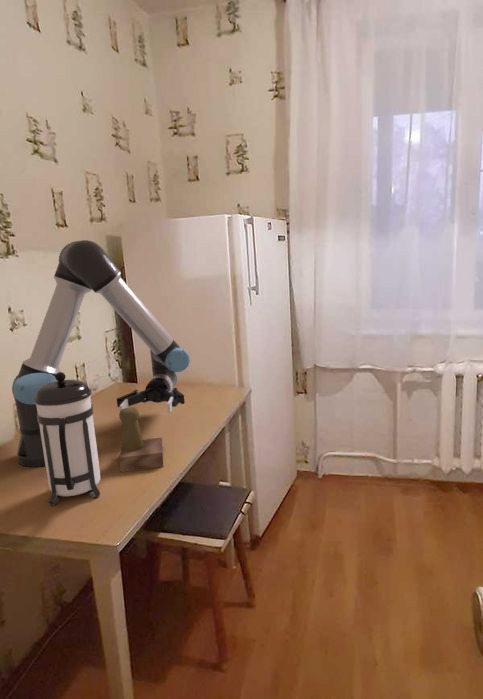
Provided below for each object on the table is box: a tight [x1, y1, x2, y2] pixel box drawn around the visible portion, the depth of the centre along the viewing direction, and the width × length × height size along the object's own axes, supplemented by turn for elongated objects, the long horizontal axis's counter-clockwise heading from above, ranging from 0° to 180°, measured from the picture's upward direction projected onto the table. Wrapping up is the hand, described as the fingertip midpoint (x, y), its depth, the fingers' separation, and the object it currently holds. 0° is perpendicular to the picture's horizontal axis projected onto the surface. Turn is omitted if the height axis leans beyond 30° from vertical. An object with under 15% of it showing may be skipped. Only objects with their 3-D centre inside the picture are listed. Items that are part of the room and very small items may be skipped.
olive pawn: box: [118, 406, 144, 451], centre depth 137 cm, size 6×6×11 cm
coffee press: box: [34, 371, 101, 506], centre depth 118 cm, size 17×16×30 cm
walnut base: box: [118, 437, 164, 473], centre depth 138 cm, size 11×11×4 cm
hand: (144, 409), depth 142 cm, fingers open, 13 cm apart
